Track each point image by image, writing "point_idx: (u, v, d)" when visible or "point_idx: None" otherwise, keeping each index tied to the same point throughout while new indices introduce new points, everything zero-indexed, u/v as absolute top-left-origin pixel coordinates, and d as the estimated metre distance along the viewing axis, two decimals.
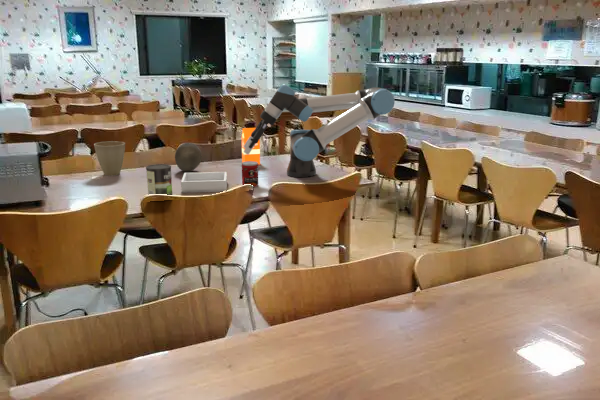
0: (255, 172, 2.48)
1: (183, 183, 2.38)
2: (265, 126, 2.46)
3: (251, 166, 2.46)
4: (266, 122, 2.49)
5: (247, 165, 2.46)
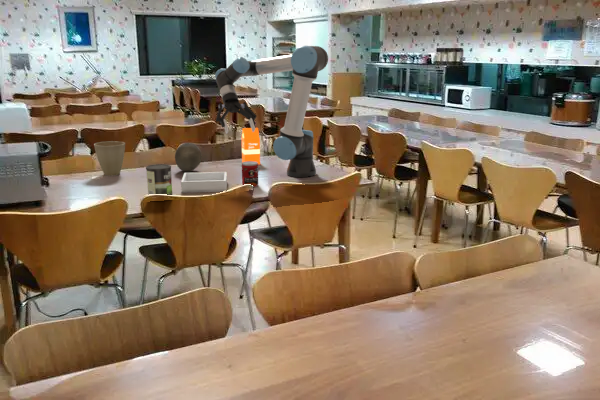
0: (255, 172, 2.48)
1: (183, 183, 2.38)
2: (219, 105, 2.58)
3: (251, 166, 2.46)
4: (224, 103, 2.60)
5: (247, 165, 2.46)
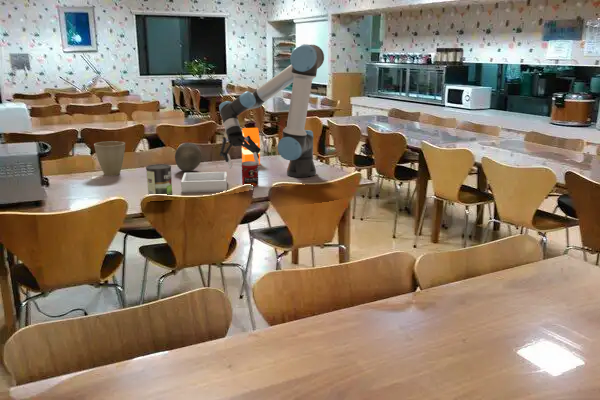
0: (255, 172, 2.48)
1: (183, 183, 2.38)
2: (223, 139, 2.56)
3: (251, 166, 2.46)
4: (228, 136, 2.58)
5: (247, 165, 2.46)
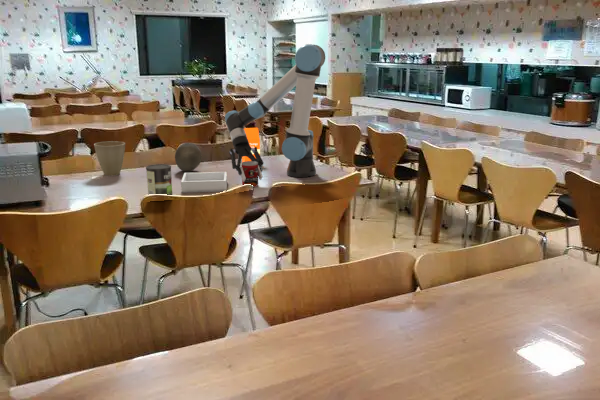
0: (255, 172, 2.48)
1: (183, 183, 2.38)
2: (230, 151, 2.52)
3: (251, 166, 2.46)
4: None
5: (247, 165, 2.46)
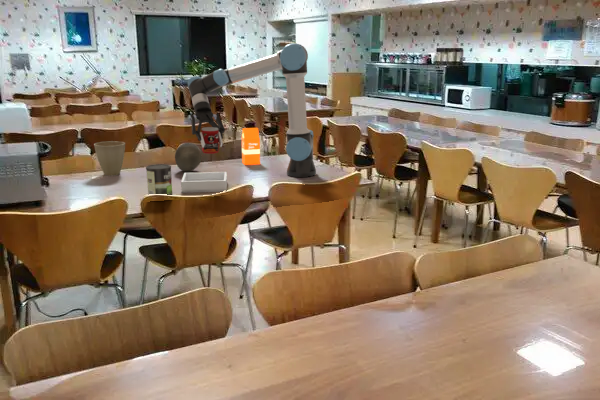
0: (215, 138, 2.41)
1: (183, 183, 2.38)
2: (190, 117, 2.45)
3: (211, 131, 2.39)
4: None
5: (207, 130, 2.39)
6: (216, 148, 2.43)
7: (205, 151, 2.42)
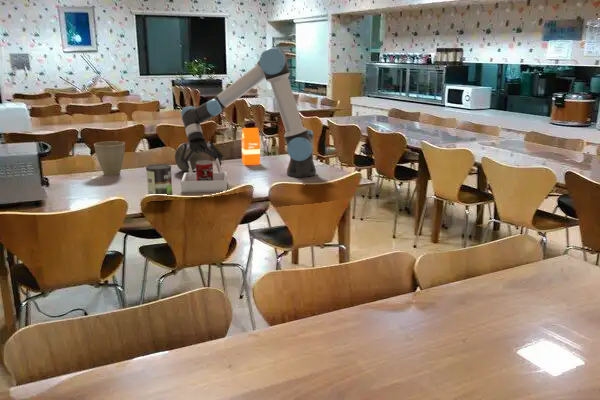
0: (209, 171, 2.44)
1: (183, 183, 2.38)
2: None
3: (205, 165, 2.42)
4: (189, 143, 2.50)
5: (201, 164, 2.42)
6: None
7: None
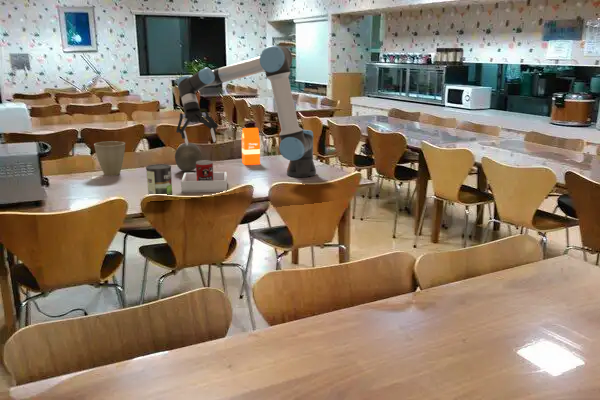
0: (209, 171, 2.44)
1: (183, 183, 2.38)
2: None
3: (205, 165, 2.42)
4: (185, 112, 2.60)
5: (201, 164, 2.42)
6: None
7: None
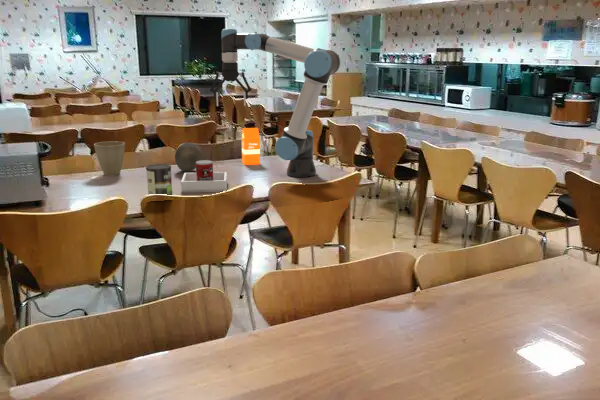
0: (209, 171, 2.44)
1: (183, 183, 2.38)
2: (216, 73, 2.61)
3: (205, 165, 2.42)
4: None
5: (201, 164, 2.42)
6: None
7: None
